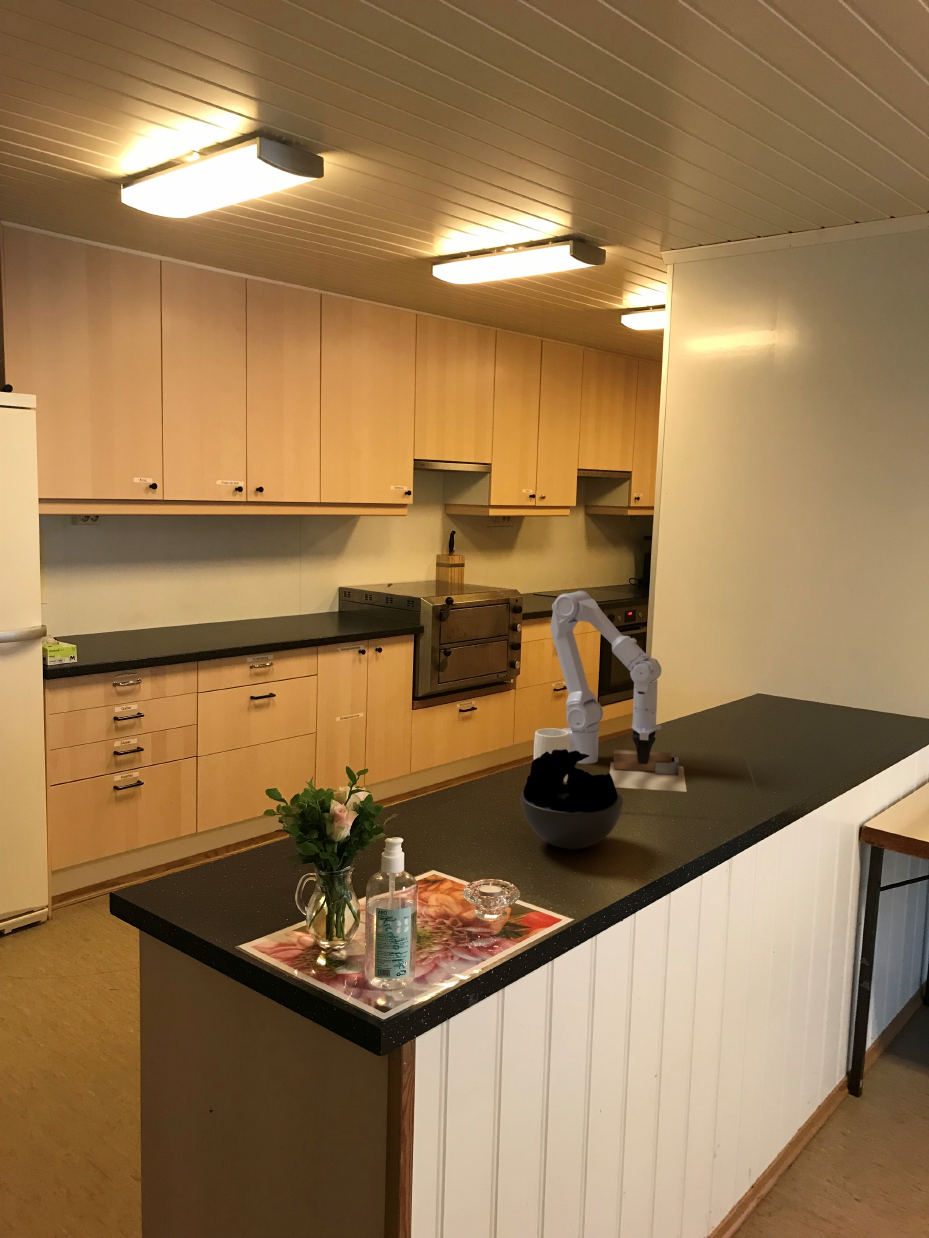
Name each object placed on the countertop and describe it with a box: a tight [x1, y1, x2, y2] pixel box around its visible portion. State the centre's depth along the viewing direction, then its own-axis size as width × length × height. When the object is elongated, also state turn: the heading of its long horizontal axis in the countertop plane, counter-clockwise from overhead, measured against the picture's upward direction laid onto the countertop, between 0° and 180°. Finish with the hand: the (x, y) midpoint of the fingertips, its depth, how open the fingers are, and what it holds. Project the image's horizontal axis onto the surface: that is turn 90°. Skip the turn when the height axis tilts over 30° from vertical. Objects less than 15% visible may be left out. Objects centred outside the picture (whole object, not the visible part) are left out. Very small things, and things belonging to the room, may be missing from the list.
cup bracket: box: [655, 755, 680, 776], centre depth 243 cm, size 6×7×3 cm
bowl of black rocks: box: [520, 749, 624, 850], centre depth 193 cm, size 20×20×19 cm
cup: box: [533, 727, 570, 782], centre depth 228 cm, size 8×8×14 cm
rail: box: [613, 749, 673, 771], centre depth 244 cm, size 14×3×4 cm, turn 80°
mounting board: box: [609, 761, 687, 793], centre depth 239 cm, size 18×21×1 cm
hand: (643, 761), depth 244 cm, fingers closed on rail, 3 cm apart
